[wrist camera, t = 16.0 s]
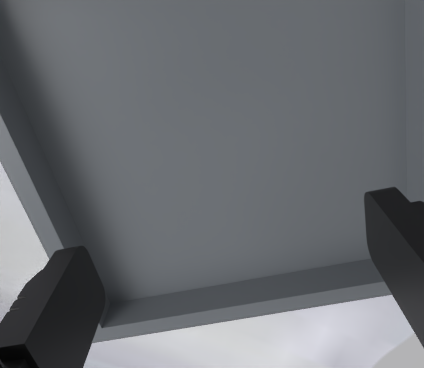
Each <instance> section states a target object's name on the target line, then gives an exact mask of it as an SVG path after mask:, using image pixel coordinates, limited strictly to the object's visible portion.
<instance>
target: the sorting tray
mask: <svg viewBox="0 0 424 368" xmlns="http://www.w3.org/2000/svg"><path fill="white" fill-rule="evenodd" d="M0 162H1V164H2V166H3V168H4V170H5V172H6V174H7V176H8V178H9V180H10V182H11V184H12V186H13V188H14V190H15V192H16V194H17V196H18V198H19V200H20V201H21V203H22V205H23V207H24V209H25V211H26V213H27V215H28V217H29V219H30V221H31V223H32V225H33V227H34V229H35V231H36V233H37V235H38V237H39V239H40V241H41V243H42V245H43V247H44V249H45V251H46V253H47V255H48V257H49V259H50V258H51V257H52V255H53V253H54V252H55V251H56V250H60V249H65V248H71V247H76V246H84V247H85V248H86V249H87V250H88V252H89V255H90V257H91V259H92V261H93V264H94V266H95V268H96V270H97V273H98V275H99V277H100V279H101V282H102V284H103V286H104V290H105V297H106V301H105V307H104V310H103V313H102V316H101V319H100V322H99V324H98V327H97V330H96V333H95V336H94V338H93V341H92V343H96V342H102V341H108V340H114V339H121V338H127V337H133V336H139V335H145V334H151V333H158V332H164V331H170V330H176V329H182V328H189V327H195V326H201V325H207V324H213V323H219V322H226V321H232V320H238V319H244V318H250V317H256V316H263V315H269V314H275V313H281V312H287V311H294V310H300V309H306V308H312V307H318V306H324V305H331V304H337V303H343V302H349V301H355V300H362V299H368V298H374V297H380V296H386V295H392V293H391V292H390V290H389V288H388V287H387V285H386V283H385V282H384V280H383V278H382V276H381V275H380V273H379V271H378V270H377V268H376V266H375V265H374V263H373V261H372V259H371V256H370V253H369V250H368V246H367V238H366V223H365V208H364V195H365V193H366V192H369V191H374V190H379V189H384V188H390V187H396V188H397V189H398V190H399V191H400V192H401V193H402V194H403V195H404V196H405V197H406V198H407V199H408V200H409V201H410V202H416V201H422V202H424V0H0Z"/></svg>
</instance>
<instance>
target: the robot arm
mask: <svg viewBox="0 0 424 368" xmlns="http://www.w3.org/2000/svg"><path fill="white" fill-rule="evenodd" d="M364 208H365V223H366V238H367V246H368V250H369V253H370V256H371V259H372V261H373V263H374V265H375V266H376V268H377V270H378V271H379V273H380V275H381V276H382V278H383V280H384V282H385V283H386V285H387V287H388V288H389V290H390V292H391V293H392V295H393V297H394V298H395V300H396V302H397V303H398V305H399V307H400V309H401V310H402V312H403V314H404V315H405V317H406V319H407V320H408V322H409V324H410V325H411V327H412V329H413V330H414V332H415V334H416V335H417V337H418V339H419V340H420V342H421V344H422V346H423V347H424V202H422V201H416V202H410V201H409V200H408V199H407V198H406V197H405V196H404V195H403V194H402V193H401V192H400V191H399V190H398V189H397V188H396V187H390V188H384V189H379V190H374V191H369V192H366V193H365V195H364ZM17 298H18V299H17V300H15V301H14V303H13V304H12V306H11V307H10V312H7V314H6V315H5V317H4V318H3V320H2V321H1V323H0V368H83V366H84V363H85V361H86V358H87V355H88V352H89V349H90V347H91V344H92V341H93V338H94V336H95V333H96V330H97V327H98V324H99V322H100V319H101V316H102V313H103V310H104V307H105V301H106V297H105V290H104V286H103V284H102V282H101V279H100V277H99V275H98V273H97V270H96V268H95V266H94V264H93V261H92V259H91V257H90V255H89V252H88V250H87V249H86V248H85V247H84V246H76V247H71V248H65V249H60V250H56V251H55V252H54V253H53V255H52V257H51V258H50V260H49V261H48V263H47V264H46V266H45V268H44V269H43V270H41V271H40V272H39V273H37V274H36V275H35V276H34V277H33V278H32V279H31V280H30V281H29V282H27V283H26V285H25V286H24V288H23V289H22V291H21V292H20V294H19V295H18V297H17Z"/></svg>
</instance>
